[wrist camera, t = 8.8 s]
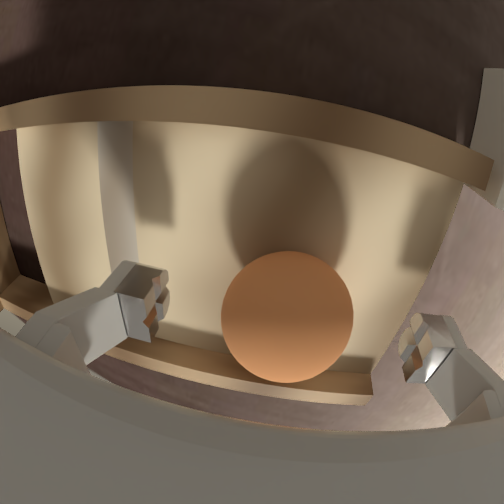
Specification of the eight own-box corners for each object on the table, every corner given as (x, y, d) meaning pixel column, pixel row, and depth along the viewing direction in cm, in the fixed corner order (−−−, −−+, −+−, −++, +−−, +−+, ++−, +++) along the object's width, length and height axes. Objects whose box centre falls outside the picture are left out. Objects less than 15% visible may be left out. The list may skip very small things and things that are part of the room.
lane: (456, 142, 8) (524, 176, 5) (360, 367, 14) (367, 431, 11) (-18, 112, 9) (-70, 132, 6) (16, 282, 16) (-17, 317, 12)
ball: (365, 244, 9) (381, 329, 6) (332, 330, 11) (327, 416, 8) (247, 217, 10) (202, 288, 6) (235, 308, 12) (201, 387, 8)
